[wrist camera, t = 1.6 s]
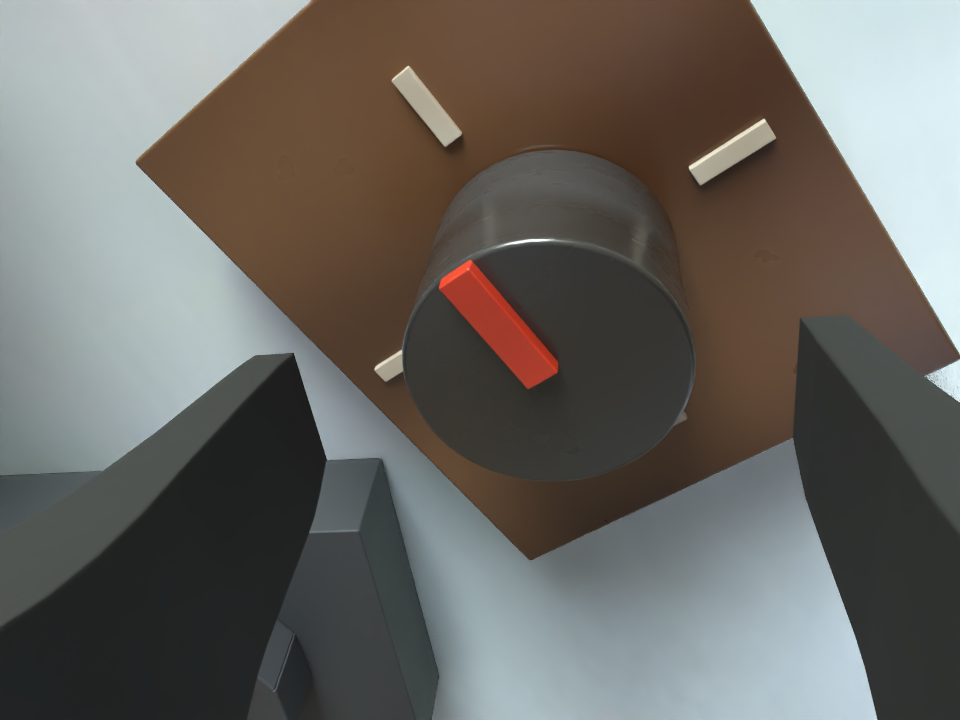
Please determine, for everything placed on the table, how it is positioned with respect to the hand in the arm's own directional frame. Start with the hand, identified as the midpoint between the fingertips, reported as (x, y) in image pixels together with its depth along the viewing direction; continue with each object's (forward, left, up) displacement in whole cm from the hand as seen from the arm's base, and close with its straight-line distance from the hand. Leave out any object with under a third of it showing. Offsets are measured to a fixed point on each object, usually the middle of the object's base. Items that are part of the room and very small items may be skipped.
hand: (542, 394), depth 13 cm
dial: (0, 0, -4) cm, 4 cm away
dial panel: (0, 0, -7) cm, 7 cm away
